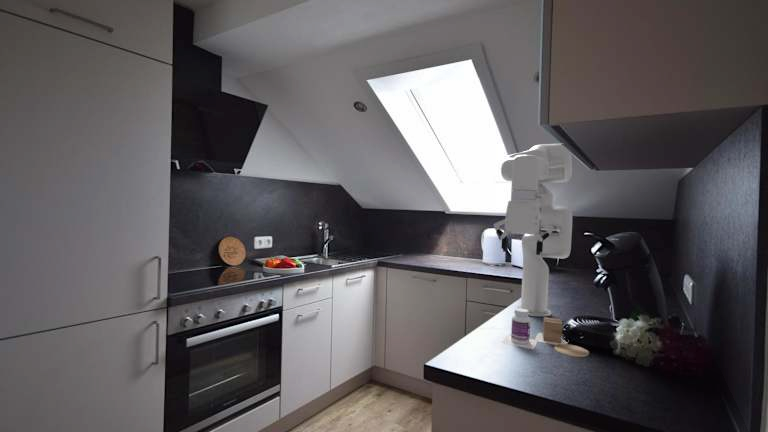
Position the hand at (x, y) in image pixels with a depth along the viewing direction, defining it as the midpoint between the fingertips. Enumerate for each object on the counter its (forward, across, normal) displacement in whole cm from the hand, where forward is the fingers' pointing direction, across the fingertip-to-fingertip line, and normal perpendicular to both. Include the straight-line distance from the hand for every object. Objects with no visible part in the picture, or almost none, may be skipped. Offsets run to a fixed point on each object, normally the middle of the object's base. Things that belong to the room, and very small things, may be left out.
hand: (521, 252), depth 118 cm
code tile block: (+27, -9, -7) cm, 29 cm away
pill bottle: (+27, -1, +1) cm, 27 cm away
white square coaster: (+27, -1, +1) cm, 27 cm away
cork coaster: (+27, -15, 0) cm, 31 cm away
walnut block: (+27, -9, -7) cm, 29 cm away
